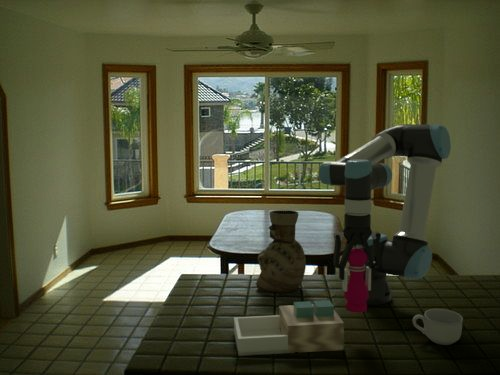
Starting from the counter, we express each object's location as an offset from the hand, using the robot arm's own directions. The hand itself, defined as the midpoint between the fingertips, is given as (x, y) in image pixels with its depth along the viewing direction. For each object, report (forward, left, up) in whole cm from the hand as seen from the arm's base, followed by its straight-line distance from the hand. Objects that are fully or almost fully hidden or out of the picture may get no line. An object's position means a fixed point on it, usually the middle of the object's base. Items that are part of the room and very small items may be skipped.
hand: (356, 289), depth 163 cm
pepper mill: (0, 0, -6) cm, 6 cm away
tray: (+29, 0, -15) cm, 33 cm away
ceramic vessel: (+15, -48, -15) cm, 52 cm away
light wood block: (+14, 0, -15) cm, 20 cm away
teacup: (-23, +5, -15) cm, 28 cm away
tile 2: (+10, 0, -7) cm, 12 cm away
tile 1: (+16, 0, -7) cm, 17 cm away
